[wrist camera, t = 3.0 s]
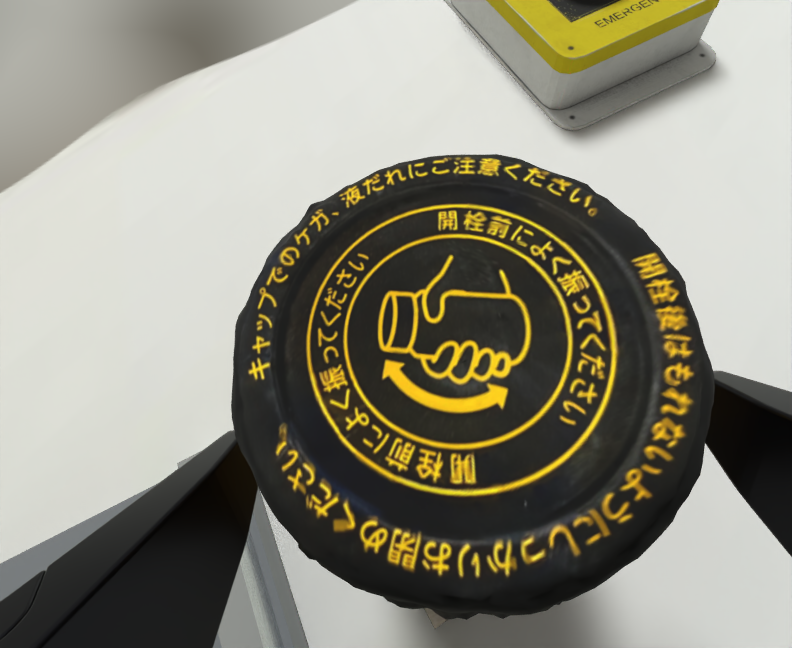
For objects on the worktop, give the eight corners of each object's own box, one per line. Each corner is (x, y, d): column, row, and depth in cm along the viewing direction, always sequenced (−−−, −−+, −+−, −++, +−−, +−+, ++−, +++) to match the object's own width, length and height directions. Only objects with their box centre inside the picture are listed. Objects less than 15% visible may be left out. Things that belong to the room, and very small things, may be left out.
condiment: (470, 319, 17) (524, 18, 5) (608, 506, 14) (1358, 688, 2) (324, 409, 16) (47, 277, 5) (435, 625, 13) (377, 1586, 2)
